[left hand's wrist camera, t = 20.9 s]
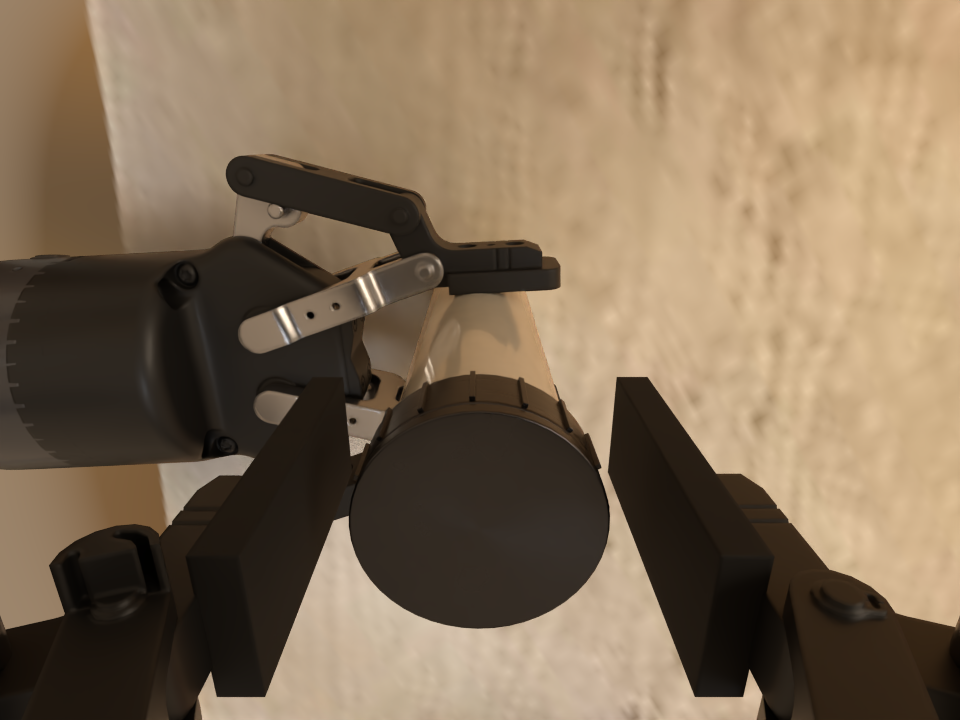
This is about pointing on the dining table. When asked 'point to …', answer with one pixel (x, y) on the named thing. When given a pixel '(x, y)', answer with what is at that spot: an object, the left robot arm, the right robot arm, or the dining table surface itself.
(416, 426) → the lid
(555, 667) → the dining table surface
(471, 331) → the beige long cylinder
